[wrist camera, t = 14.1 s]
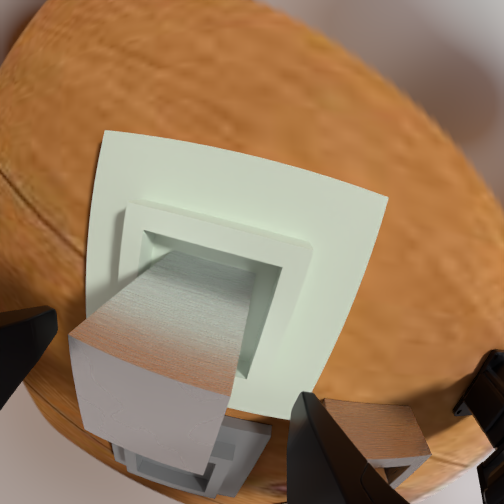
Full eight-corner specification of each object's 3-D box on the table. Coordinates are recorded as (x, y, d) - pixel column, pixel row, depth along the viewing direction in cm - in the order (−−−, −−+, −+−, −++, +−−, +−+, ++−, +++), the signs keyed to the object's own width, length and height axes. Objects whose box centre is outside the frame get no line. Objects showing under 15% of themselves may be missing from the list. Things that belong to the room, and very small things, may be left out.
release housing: (409, 405, 16) (431, 454, 11) (365, 459, 18) (375, 503, 13) (324, 398, 16) (334, 459, 11) (289, 454, 18) (289, 505, 13)
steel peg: (255, 273, 13) (230, 396, 5) (235, 343, 14) (203, 475, 6) (174, 249, 13) (67, 334, 5) (162, 320, 14) (84, 429, 6)
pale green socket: (380, 195, 13) (402, 200, 10) (295, 410, 16) (296, 438, 14) (114, 132, 13) (88, 126, 10) (95, 349, 16) (77, 369, 14)
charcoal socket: (271, 425, 17) (270, 452, 14) (235, 489, 20) (232, 509, 18) (108, 375, 17) (92, 396, 15) (118, 453, 20) (110, 471, 18)
